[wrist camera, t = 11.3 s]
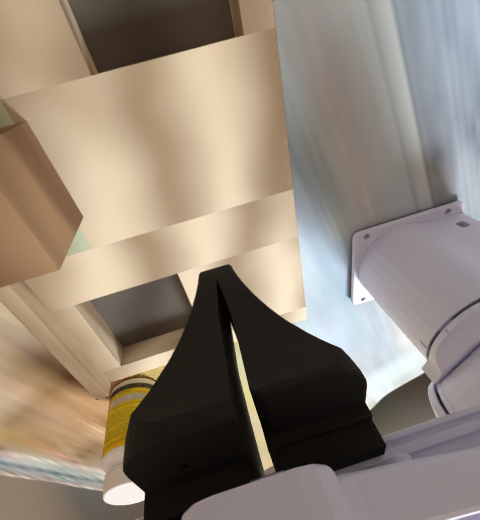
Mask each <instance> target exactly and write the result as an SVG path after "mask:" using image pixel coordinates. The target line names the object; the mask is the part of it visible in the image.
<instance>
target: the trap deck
mask: <svg viewBox="0 0 480 520" xmlns="http://www.w3.org/2000/svg"><path fill="white" fill-rule="evenodd" d="M25 121H27V123H28V124H29V126H30V128H31V129H32V131H33V133H34V134H35V136H36V138H37V139H38V141H39V143H40V145H41V146H42V148H43V150H44V151H45V153H46V155H47V156H48V158H49V160H50V161H51V163H52V165H53V166H54V168H55V170H56V171H57V173H58V175H59V176H60V178H61V180H62V181H63V183H64V185H65V187H66V188H67V190H68V192H69V193H70V195H71V197H72V198H73V200H74V202H75V203H76V205H77V207H78V208H79V210H80V212H81V213H82V215H83V219H82V222H81V224H80V226H79V228H78V231H77V233H76V235H75V237H74V239H73V242H72V244H71V246H70V248H69V251H68V253H67V255H66V257H65V259H64V262H63V264H62V266H61V268H60V270H58V271H55V272H51V273H48V274H45V275H41V276H38V277H35V278H31V279H28V280H25V281H21V282H18V283H15V284H11V285H8V286H5V287H1V288H0V301H1V302H2V303H3V304H4V305H5V306H6V307H7V309H8V310H9V311H10V312H11V313H12V314H13V315H14V316H15V317H16V318H17V319H18V320H19V321H20V322H21V323H22V324H23V325H24V326H25V327H26V328H27V329H28V330H29V331H30V332H31V333H32V334H33V335H34V336H35V337H36V338H37V339H38V340H39V341H40V342H41V343H42V344H43V345H44V346H45V347H46V349H47V350H48V351H49V352H50V353H51V354H52V355H53V356H54V357H55V358H56V359H57V360H58V361H59V362H60V363H61V364H62V365H63V366H64V367H65V368H66V369H67V370H68V371H69V372H70V373H71V374H72V375H73V376H74V377H75V378H76V379H77V380H78V381H79V382H80V383H81V384H82V385H83V386H84V387H85V388H86V390H87V391H88V392H89V393H90V394H91V395H92V396H93V397H94V398H95V399H96V400H98V399H101V398H104V397H107V396H109V394H110V387H111V382H114V381H117V380H120V379H123V378H126V377H129V376H132V375H136V374H139V373H142V372H145V371H148V370H151V369H154V368H157V367H160V366H163V365H166V364H167V363H168V361H169V359H170V358H171V356H172V354H173V352H174V350H175V348H176V346H177V344H178V342H179V340H180V338H181V336H182V333H183V331H184V329H185V326H186V324H187V321H188V318H189V315H190V312H191V309H192V306H193V302H194V298H195V295H196V290H197V285H198V278H199V274H200V272H203V271H206V270H210V269H213V268H216V267H220V266H223V265H227V264H229V265H231V266H232V268H233V270H234V271H235V273H236V274H237V275H238V277H239V278H240V279H241V280H242V282H243V283H244V284H245V285H246V286H247V287H248V288H249V289H250V290H251V291H252V292H253V293H254V294H255V295H256V296H257V297H258V298H259V299H260V300H261V301H262V302H263V303H264V304H266V305H267V306H268V307H269V308H270V309H272V310H273V311H274V312H276V313H277V314H278V315H280V316H281V317H283V318H284V319H286V320H287V321H288V322H290V323H292V324H293V323H296V322H299V321H302V320H305V319H307V314H306V305H305V295H304V286H303V277H302V267H301V258H300V249H299V240H298V230H297V221H296V212H295V202H294V193H293V184H292V175H291V165H290V156H289V147H288V137H287V128H286V119H285V109H284V100H283V91H282V82H281V72H280V63H279V54H278V44H277V35H276V26H275V17H274V7H273V0H0V128H3V127H6V126H10V125H14V124H17V123H21V122H25ZM231 328H232V334H233V340H234V342H237V341H238V340H237V338H236V335H235V332H234V330H233V327H232V325H231Z"/></svg>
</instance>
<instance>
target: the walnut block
mask: <svg viewBox="0 0 480 520" xmlns="http://www.w3.org/2000/svg"><path fill="white" fill-rule="evenodd" d="M82 219H83V215H82V213H81V212H80V210H79V208H78V207H77V205H76V203H75V202H74V200H73V198H72V197H71V195H70V193H69V192H68V190H67V188H66V187H65V185H64V183H63V181H62V180H61V178H60V176H59V175H58V173H57V171H56V170H55V168H54V166H53V165H52V163H51V161H50V160H49V158H48V156H47V155H46V153H45V151H44V150H43V148H42V146H41V145H40V143H39V141H38V139H37V138H36V136H35V134H34V133H33V131H32V129H31V128H30V126H29V124H28V123H27V121H25V122H21V123H17V124H14V125H10V126H6V127H3V128H0V288H1V287H5V286H8V285H11V284H15V283H18V282H21V281H25V280H28V279H31V278H35V277H38V276H41V275H45V274H48V273H51V272H55V271H58V270H60V268H61V266H62V264H63V262H64V259H65V257H66V255H67V253H68V251H69V248H70V246H71V244H72V242H73V239H74V237H75V235H76V233H77V231H78V228H79V226H80V224H81V222H82Z"/></svg>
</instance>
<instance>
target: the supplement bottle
mask: <svg viewBox="0 0 480 520" xmlns="http://www.w3.org/2000/svg"><path fill="white" fill-rule="evenodd" d="M154 383H155V381H153V380H151V379H147V378H133V379H129V380H126V381H124V382H122V383H120V384H118V385H117V386H116V387H115V388H114V389H113V391H112V393H111V396H110V403H109V411H108V418H107V426H106V432H105V441H104V448H103V455H102V467H103V470H104V471H105V472H106V475H105V479H104V487H103V500H104V501H105V502H106V503H108V504H112V505H128V504H133V503H137V502H140V501H143V500H145V492H144V491H142V490H141V489H140V488H139V487H138V486H137V485H135V484H134V483H133V482H132V481H131V480H130V479H129V478H127V477H126V475H125V474H124V472H123V457H124V446H125V438H126V433H127V428H128V424H129V419H130V415H131V414H132V412H133V411H134V410H135V409H136V407H137V406H138V405H139V404H140V402H141V401H142V400H143V398H144V397H145V396H146V395H147V393H148V392H149V391H150V389H151V388H152V386H153V385H154Z"/></svg>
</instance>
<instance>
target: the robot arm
mask: <svg viewBox="0 0 480 520" xmlns="http://www.w3.org/2000/svg"><path fill="white" fill-rule="evenodd" d="M463 209H464V203H463V202H461V201H455V202H452V203H449V204H445V205H442V206H439V207H436V208H432V209H429V210H426V211H423V212H419V213H416V214H413V215H410V216H407V217H403V218H400V219H397V220H394V221H390V222H387V223H384V224H381V225H378V226H374V227H371V228H368V229H365V230H361V231H358V232H356V233H355V234H354V235H353V238H352V280H351V301H352V303H353V304H360V303H363V302H366V301H369V300H372V299H374V300H375V301H376V302H377V303H378V304H379V305H380V307H381V308H382V309H383V310H384V311H385V312H386V313H387V315H388V316H389V317H390V318H391V319H392V320H393V321H394V323H395V324H396V325H397V326H398V327H399V328H400V329H401V331H402V332H403V333H404V334H405V335H406V336H407V337H408V339H409V340H410V341H411V342H412V343H413V344H414V345H415V347H416V348H417V349H418V350H419V351H420V352H421V353H422V355H423V356H424V357H425V358H426V359H427V362H426V364H425V365H424V366H423V367H422V370H423V371H424V372H425V373H426V374H427V376H428V377H429V378H430V379H431V380H432V382H431V384H430V385H429V388H428V395H429V399H430V403H431V405H432V407H433V410H434V413H435V415H436V417H437V418H436V419H433V420H430V421H427V422H424V423H421V424H418V425H415V426H412V427H409V428H406V429H404V430H400V431H397V432H394V433H391V434H388V435H385V436H383V437H381V435H380V433H379V432H378V430H377V428H376V426H375V424H374V423H373V421H372V414H371V412H370V410H369V408H368V407H367V405H366V403H365V400H366V390H367V382H366V379H365V377H364V375H363V374H362V372H361V371H360V369H359V368H358V367H357V365H356V364H355V363H354V362H353V361H352V359H351V358H350V357H349V356H348V355H347V354H346V353H345V352H344V351H343V350H342V349H341V348H339V347H337V346H334V345H332V344H330V343H327V342H325V341H323V340H321V339H319V338H317V337H315V336H313V335H311V334H309V333H307V332H305V331H304V330H302V329H300V328H299V327H297V326H295V325H293V324H292V323H290V322H288V321H287V320H286V319H284V318H283V317H281V316H280V315H278V314H277V313H276V312H274V311H273V310H272V309H270V308H269V307H268V306H267V305H266V304H264V303H263V302H262V301H261V300H260V299H259V298H258V297H257V296H256V295H255V294H254V293H253V292H252V291H251V290H250V289H249V288H248V287H247V286H246V285H245V284H244V283H243V282H242V280H241V279H240V278H239V277H238V275H237V274H236V273H235V271H234V270H233V268H232V266H231V265H229V264H227V265H223V266H220V267H216V268H213V269H210V270H206V271H203V272H200V274H199V278H198V285H197V290H196V295H195V298H194V302H193V306H192V309H191V312H190V315H189V318H188V321H187V324H186V326H185V329H184V331H183V333H182V336H181V338H180V340H179V342H178V344H177V346H176V348H175V350H174V352H173V354H172V356H171V358H170V359H169V361H168V363H167V365H166V366H165V368H164V369H163V371H162V373H161V374H160V376H159V377H158V379H157V380H156V382H155V383H154V385H153V386H152V388H151V389H150V391H149V392H148V393H147V395H146V396H145V397H144V398H143V400H142V401H141V402H140V404H139V405H138V406H137V407H136V409H135V410H134V411H133V412H132V414H131V415H130V419H129V424H128V428H127V433H126V438H125V446H124V457H123V472H124V474H125V475H126V477H127V478H129V479H130V480H131V481H132V482H133V483H134V484H135V485H137V486H138V487H139V488H140V489H141V490H142V491H144V492H145V501H144V502H145V504H144V517H141V518H138V519H135V520H480V222H479V221H477V220H475V219H473V218H471V217H469V216H468V215H466V214H464V213H463ZM366 234H367V235H366ZM365 235H366V236H365ZM364 236H365V237H364ZM231 325H232V327H233V330H234V332H235V335H236V338H237V340H238V343H239V347H240V351H241V355H242V360H243V364H244V368H245V372H246V377H247V381H248V385H249V389H250V392H251V395H252V398H253V401H254V404H255V407H256V410H257V414H258V417H259V420H260V423H261V426H262V429H263V433H264V437H265V440H266V444H267V448H268V451H269V453H270V456H271V459H272V462H273V465H274V468H275V471H276V472H275V473H273V474H269V475H266V476H265V474H264V470H263V466H262V462H261V459H260V455H259V451H258V447H257V443H256V440H255V436H254V432H253V428H252V424H251V420H250V416H249V413H248V409H247V405H246V401H245V397H244V393H243V389H242V385H241V381H240V377H239V372H238V366H237V360H236V353H235V347H234V340H233V334H232V328H231Z"/></svg>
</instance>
